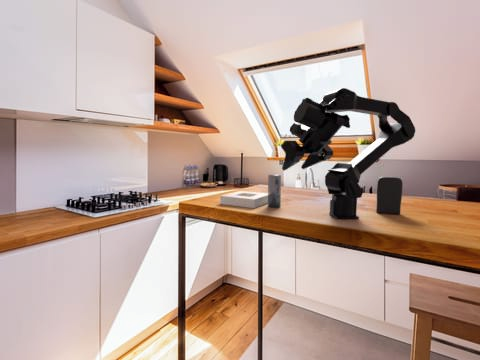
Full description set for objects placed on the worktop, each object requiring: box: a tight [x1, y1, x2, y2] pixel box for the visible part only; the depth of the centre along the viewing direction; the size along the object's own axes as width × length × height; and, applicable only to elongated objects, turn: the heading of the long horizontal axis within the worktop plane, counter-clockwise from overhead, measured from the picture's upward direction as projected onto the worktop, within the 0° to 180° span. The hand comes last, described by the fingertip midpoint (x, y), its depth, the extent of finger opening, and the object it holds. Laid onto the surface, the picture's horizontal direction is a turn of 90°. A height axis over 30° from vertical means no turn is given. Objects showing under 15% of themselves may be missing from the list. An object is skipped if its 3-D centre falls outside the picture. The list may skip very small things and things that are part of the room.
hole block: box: [219, 190, 268, 209], centre depth 101 cm, size 14×14×3 cm
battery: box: [375, 176, 404, 215], centre depth 85 cm, size 7×4×11 cm, turn 69°
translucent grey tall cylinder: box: [267, 174, 282, 209], centre depth 94 cm, size 4×4×11 cm
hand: (292, 168), depth 87 cm, fingers open, 9 cm apart
